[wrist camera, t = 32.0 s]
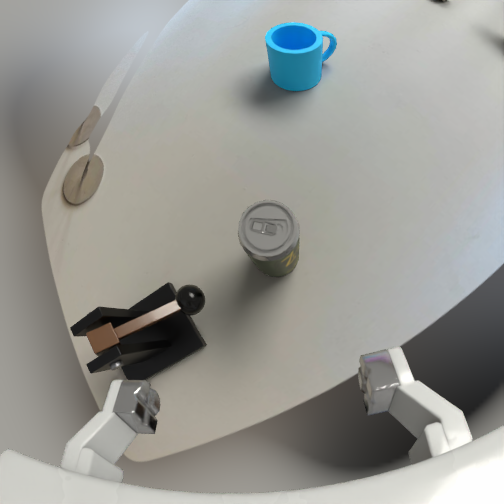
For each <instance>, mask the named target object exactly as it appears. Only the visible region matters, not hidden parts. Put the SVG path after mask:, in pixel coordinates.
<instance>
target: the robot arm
mask: <svg viewBox="0 0 504 504" xmlns="http://www.w3.org/2000/svg"><path fill="white" fill-rule="evenodd" d="M359 362H360V365H361V367H360V368H359V372H358V375H359V384H360V388H361V391H362V392H363V393H364V394H365V396H364V404H365V408H366V412H367V415H372V414H376V413H381V412H384V411H389V412H390V413H391V414H392V415H393V416H394V417H395V418H396V419H397V420H398V421H399V422H400V423H401V424H402V425H404V426H405V427H406V428H407V429H408V430H409V431H410V432H411V433H412V434H413V435H414V436H415V437H416V438H418V439H417V441H416V443H415V444H414V445H413V447H412V448H411V450H410V451H409V455H410V460H411V464H412V465H410V466H407V467H403V468H400V469H397V470H393V471H390V472H386V473H382V474H379V475H375V476H371V477H367V478H362V479H358V480H354V481H348V482H343V483H338V484H332V485H326V486H320V487H313V488H306V489H299V490H288V491H276V492H262V493H201V492H186V491H174V490H164V489H156V488H148V487H142V486H136V485H130V484H125V483H122V481H123V475H124V471H123V470H122V469H121V468H119V467H118V466H116V465H115V463H116V461H117V460H118V459H119V458H120V456H121V455H122V454H123V453H124V451H125V450H126V449H127V447H128V446H129V445H130V444H131V442H132V441H133V440H134V438H135V437H136V436H137V433H142V434H155V430H156V425H157V419H156V417H155V415H156V414H157V413H158V412H159V410H160V398H159V395H158V393H157V392H156V391H155V390H153V389H151V388H150V386H151V384H150V383H149V382H148V381H147V380H113V381H112V383H111V385H110V388H109V391H108V394H107V397H106V400H105V403H104V406H103V410H102V412H100V411H99V412H98V413H97V414H96V415H95V416H94V417H93V418H92V419H91V420H90V421H89V422H88V423H87V424H86V425H85V426H84V427H83V428H82V429H81V430H80V431H79V432H78V433H77V434H76V435H74V436H73V437H72V438H71V439H70V440H69V441H68V442H67V445H66V448H65V451H64V454H63V458H62V461H61V465H60V467H58V466H54V465H51V464H48V463H46V462H43V461H40V460H37V459H35V458H32V457H29V456H27V455H24V454H22V453H19V452H17V451H14V450H11V449H8V450H5V451H4V452H3V453H1V454H0V504H504V425H503V426H501V427H499V428H497V429H495V430H494V431H492V432H490V433H488V434H486V435H484V436H482V437H480V438H478V439H475V440H473V439H472V436H471V433H470V431H469V428H468V425H467V422H466V420H465V417H464V415H463V412H462V411H461V410H459V409H458V408H457V407H455V406H454V405H452V404H451V403H450V402H448V401H447V400H445V399H444V398H442V397H441V396H440V395H438V394H437V393H435V392H434V391H433V390H431V389H429V388H428V387H427V386H425V385H424V384H423V383H421V382H420V381H414V379H413V376H412V373H411V371H410V368H409V366H408V363H407V361H406V358H405V356H404V353H403V351H402V349H401V348H400V347H394V348H391V349H387V350H386V349H385V350H381V351H377V352H373V353H369V354H365V355H361V356H360V361H359Z"/></svg>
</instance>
